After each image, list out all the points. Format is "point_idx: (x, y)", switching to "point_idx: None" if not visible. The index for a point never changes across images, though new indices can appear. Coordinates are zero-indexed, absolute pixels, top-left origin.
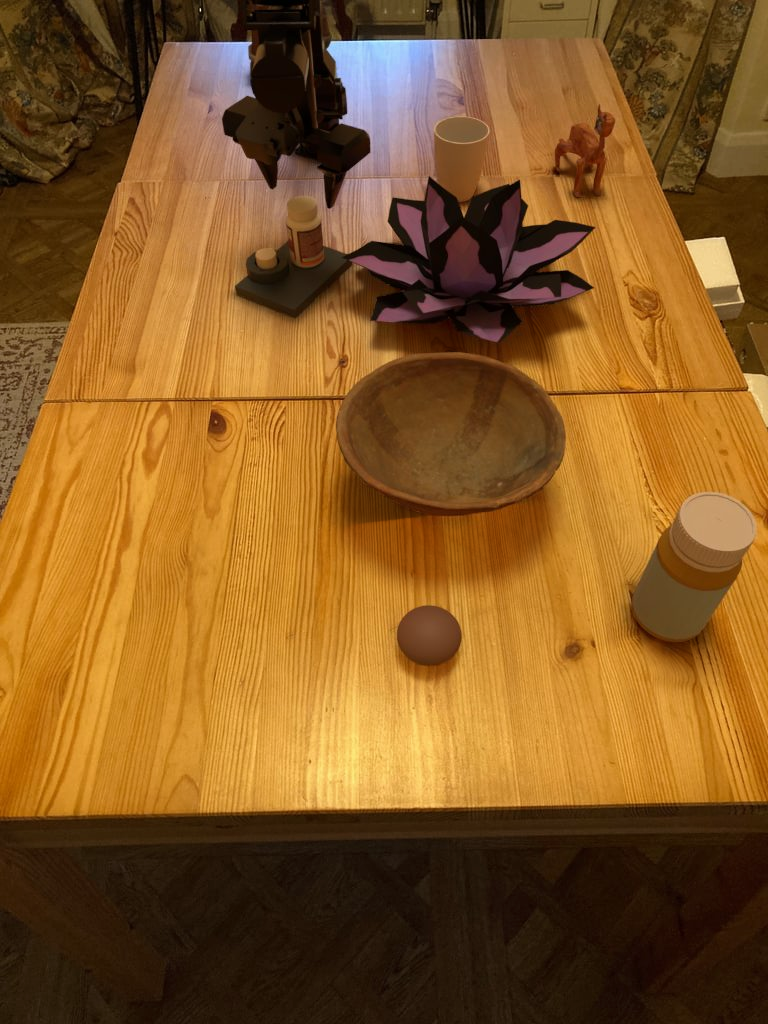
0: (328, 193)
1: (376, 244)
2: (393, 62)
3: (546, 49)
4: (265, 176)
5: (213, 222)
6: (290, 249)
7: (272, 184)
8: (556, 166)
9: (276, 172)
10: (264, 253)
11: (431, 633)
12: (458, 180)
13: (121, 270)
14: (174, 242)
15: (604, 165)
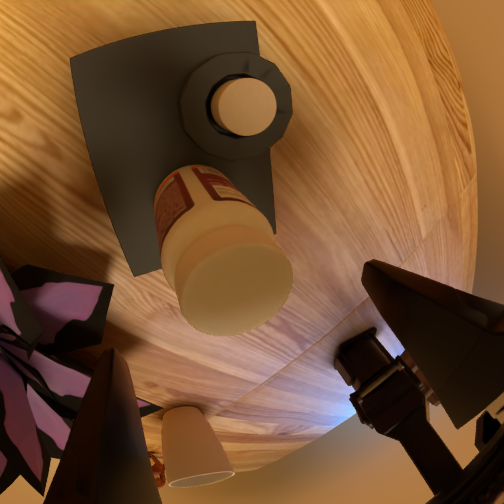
0: (84, 415)
1: (38, 329)
2: (349, 409)
3: (270, 460)
4: (412, 278)
5: (401, 172)
6: (217, 175)
7: (375, 275)
8: (152, 457)
9: (387, 317)
10: (252, 105)
11: None
12: (168, 437)
13: (422, 17)
14: (416, 101)
15: None
